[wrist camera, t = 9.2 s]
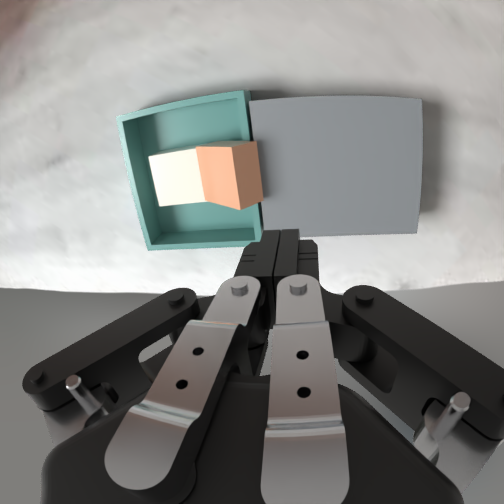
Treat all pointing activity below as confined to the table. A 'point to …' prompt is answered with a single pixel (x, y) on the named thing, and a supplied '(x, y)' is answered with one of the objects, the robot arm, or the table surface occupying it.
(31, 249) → the table surface
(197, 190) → the cream tile
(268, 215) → the grey flat block
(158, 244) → the box
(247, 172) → the terracotta tile
